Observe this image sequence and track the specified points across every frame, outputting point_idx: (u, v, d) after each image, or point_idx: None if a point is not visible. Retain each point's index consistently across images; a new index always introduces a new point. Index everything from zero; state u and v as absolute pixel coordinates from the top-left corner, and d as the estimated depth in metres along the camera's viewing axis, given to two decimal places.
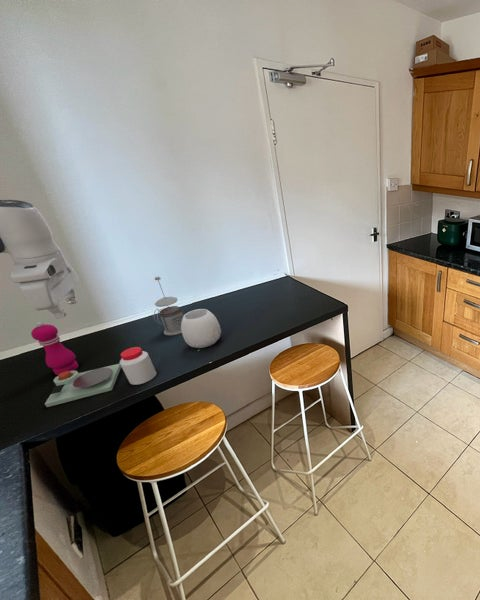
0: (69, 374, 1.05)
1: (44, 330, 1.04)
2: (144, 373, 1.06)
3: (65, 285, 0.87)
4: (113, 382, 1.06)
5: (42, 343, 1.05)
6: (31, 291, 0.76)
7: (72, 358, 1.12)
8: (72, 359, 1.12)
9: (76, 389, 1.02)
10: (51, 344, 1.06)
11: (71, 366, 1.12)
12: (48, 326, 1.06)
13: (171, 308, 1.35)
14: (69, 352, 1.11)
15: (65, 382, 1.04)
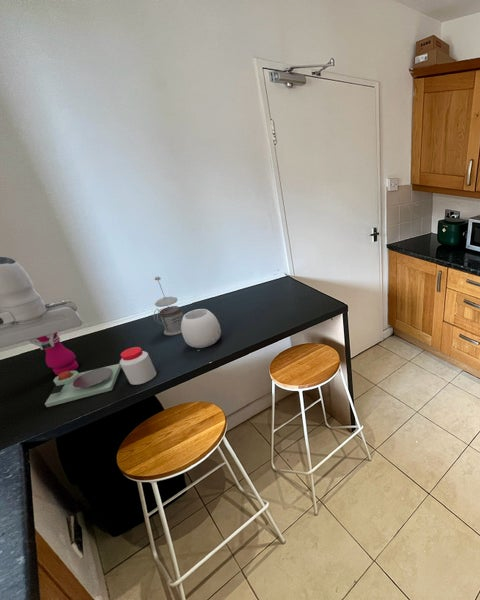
0: (69, 374, 1.05)
1: None
2: (144, 373, 1.06)
3: (38, 330, 0.96)
4: (113, 382, 1.06)
5: None
6: None
7: (73, 358, 1.12)
8: (72, 359, 1.12)
9: (76, 389, 1.02)
10: None
11: (71, 366, 1.12)
12: None
13: (171, 308, 1.35)
14: (69, 352, 1.11)
15: (65, 382, 1.04)
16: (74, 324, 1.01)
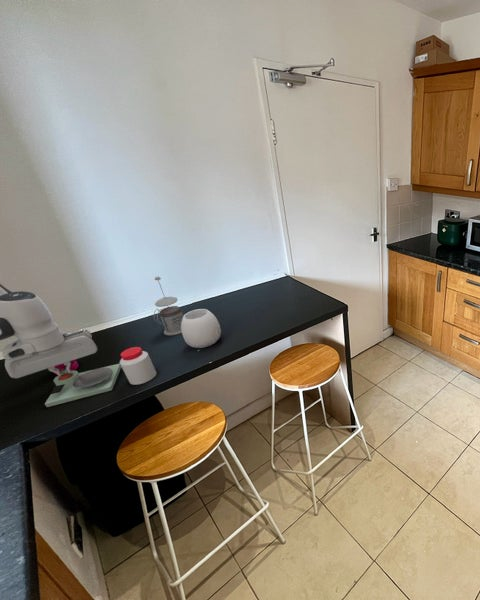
0: (69, 375, 1.05)
1: None
2: (144, 373, 1.06)
3: (57, 358, 1.01)
4: (113, 382, 1.06)
5: None
6: None
7: None
8: None
9: (76, 389, 1.02)
10: None
11: (71, 366, 1.12)
12: None
13: (171, 308, 1.35)
14: None
15: (65, 382, 1.04)
16: (90, 351, 1.06)
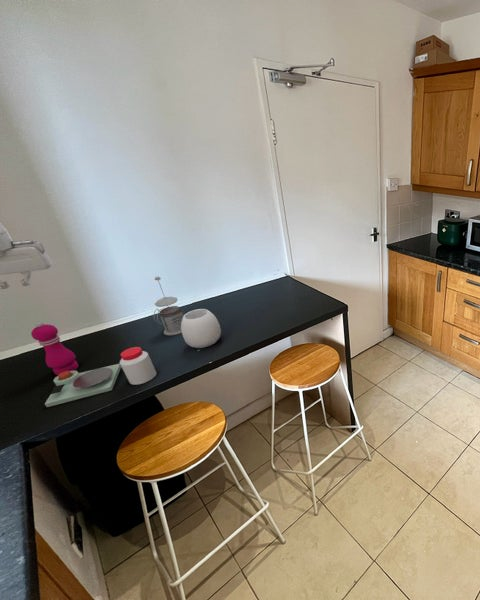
0: (69, 374, 1.05)
1: (44, 330, 1.04)
2: (144, 373, 1.06)
3: (3, 267, 0.94)
4: (113, 382, 1.06)
5: (42, 343, 1.05)
6: None
7: (73, 358, 1.12)
8: (72, 359, 1.12)
9: (76, 389, 1.02)
10: (51, 344, 1.06)
11: (71, 366, 1.12)
12: (48, 326, 1.06)
13: (171, 308, 1.35)
14: (69, 352, 1.11)
15: (65, 382, 1.04)
16: (39, 266, 0.97)
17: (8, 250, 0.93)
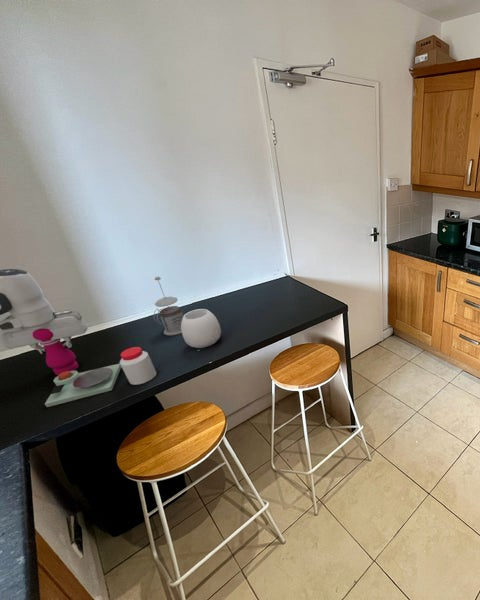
0: (69, 374, 1.05)
1: (45, 330, 1.04)
2: (144, 373, 1.06)
3: None
4: (113, 382, 1.06)
5: (42, 343, 1.05)
6: None
7: (73, 358, 1.12)
8: (72, 359, 1.12)
9: (76, 389, 1.02)
10: (51, 344, 1.06)
11: (71, 366, 1.12)
12: None
13: (171, 308, 1.35)
14: (69, 352, 1.11)
15: (65, 382, 1.04)
16: (77, 332, 1.09)
17: (51, 321, 1.04)
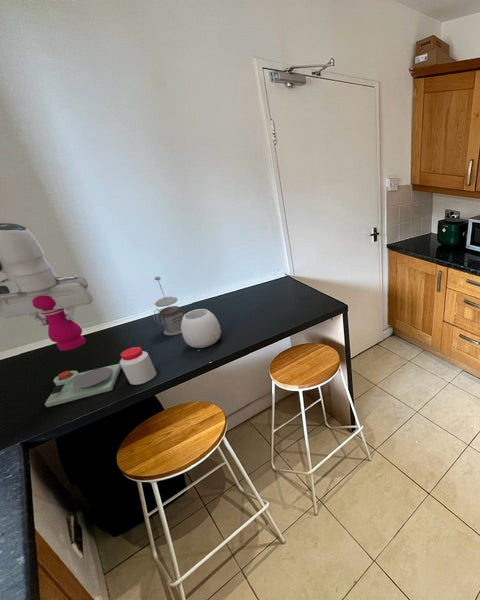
0: (69, 374, 1.05)
1: (47, 297, 0.91)
2: (144, 373, 1.06)
3: None
4: (113, 382, 1.06)
5: (44, 312, 0.92)
6: None
7: (79, 331, 0.98)
8: (78, 332, 0.98)
9: (76, 389, 1.02)
10: (54, 314, 0.93)
11: (77, 341, 0.98)
12: None
13: (171, 308, 1.35)
14: (75, 325, 0.98)
15: (65, 382, 1.04)
16: (83, 301, 0.95)
17: (53, 287, 0.91)
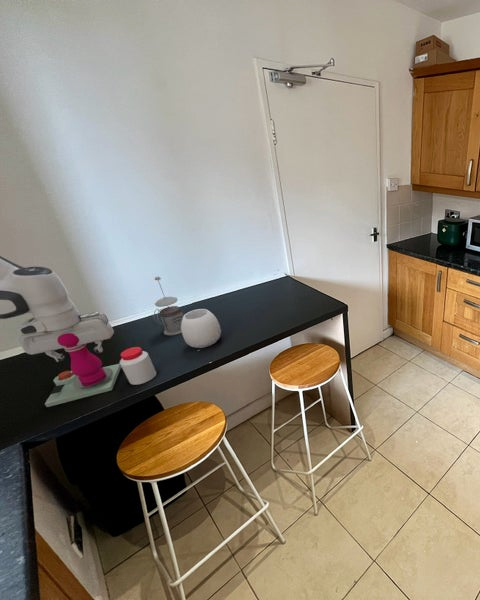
0: (69, 374, 1.05)
1: (71, 335, 0.95)
2: (144, 373, 1.06)
3: None
4: (113, 382, 1.06)
5: (68, 349, 0.96)
6: None
7: (99, 364, 1.03)
8: (99, 366, 1.03)
9: (76, 389, 1.02)
10: (77, 350, 0.98)
11: (98, 373, 1.03)
12: None
13: (171, 308, 1.35)
14: (95, 359, 1.02)
15: (65, 382, 1.04)
16: (103, 336, 1.00)
17: (76, 324, 0.95)
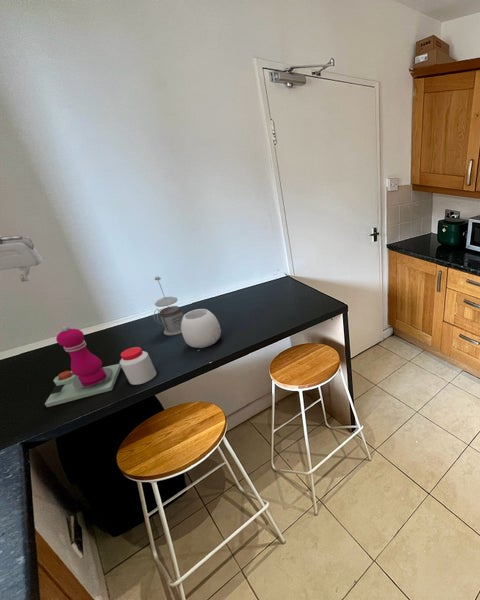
0: (69, 374, 1.05)
1: (71, 335, 0.95)
2: (144, 373, 1.06)
3: None
4: (113, 382, 1.06)
5: (68, 349, 0.96)
6: None
7: (99, 364, 1.03)
8: (99, 366, 1.03)
9: (76, 389, 1.02)
10: (77, 350, 0.98)
11: (98, 373, 1.03)
12: (74, 330, 0.97)
13: (171, 308, 1.35)
14: (95, 359, 1.02)
15: (65, 382, 1.04)
16: (29, 262, 0.95)
17: None
